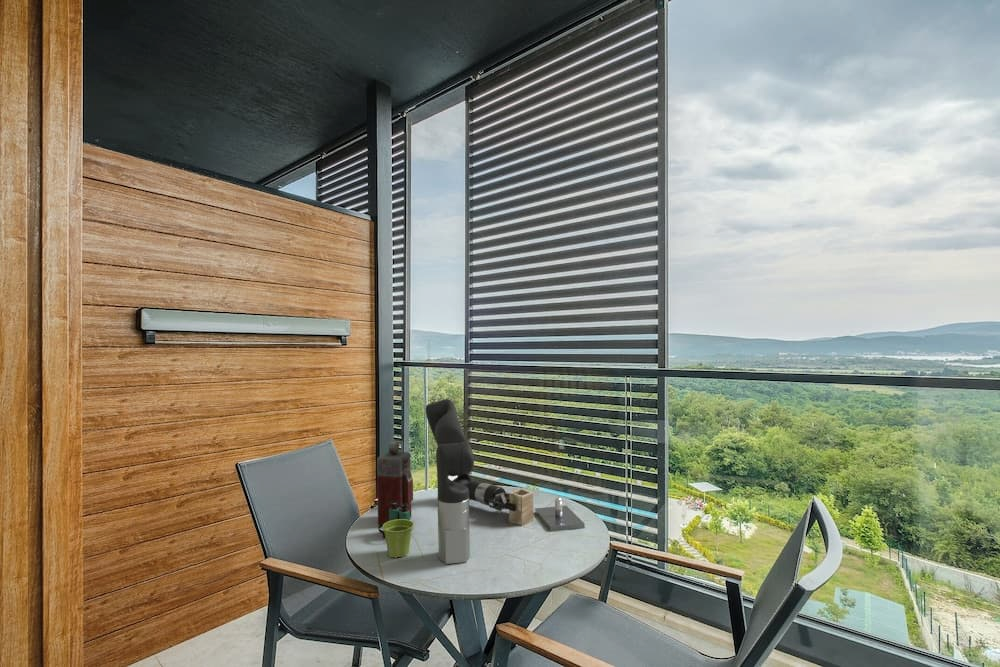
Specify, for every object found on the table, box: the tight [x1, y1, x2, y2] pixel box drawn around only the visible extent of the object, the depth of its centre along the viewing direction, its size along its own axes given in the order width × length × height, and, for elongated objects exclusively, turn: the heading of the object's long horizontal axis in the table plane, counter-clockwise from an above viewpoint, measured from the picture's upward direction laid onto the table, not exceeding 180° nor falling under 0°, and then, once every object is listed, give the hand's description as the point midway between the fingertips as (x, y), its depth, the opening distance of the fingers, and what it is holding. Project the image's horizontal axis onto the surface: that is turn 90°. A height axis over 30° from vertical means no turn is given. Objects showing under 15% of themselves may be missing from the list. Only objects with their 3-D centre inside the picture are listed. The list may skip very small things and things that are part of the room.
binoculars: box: [377, 501, 411, 539], centre depth 162 cm, size 9×11×10 cm
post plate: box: [534, 496, 586, 532], centre depth 174 cm, size 18×12×8 cm, turn 12°
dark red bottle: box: [376, 440, 414, 526], centre depth 176 cm, size 9×11×28 cm
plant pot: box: [381, 519, 415, 559], centre depth 149 cm, size 9×9×9 cm
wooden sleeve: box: [508, 488, 535, 526], centre depth 174 cm, size 6×6×10 cm
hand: (523, 504), depth 173 cm, fingers open, 8 cm apart
